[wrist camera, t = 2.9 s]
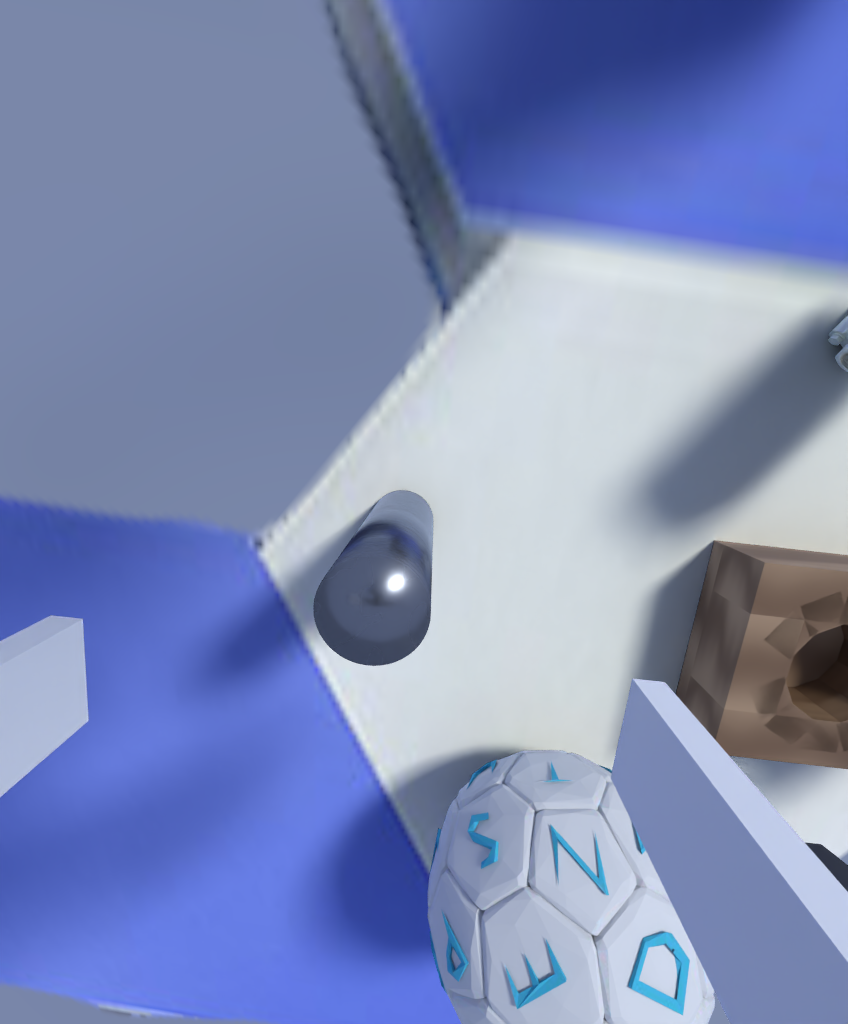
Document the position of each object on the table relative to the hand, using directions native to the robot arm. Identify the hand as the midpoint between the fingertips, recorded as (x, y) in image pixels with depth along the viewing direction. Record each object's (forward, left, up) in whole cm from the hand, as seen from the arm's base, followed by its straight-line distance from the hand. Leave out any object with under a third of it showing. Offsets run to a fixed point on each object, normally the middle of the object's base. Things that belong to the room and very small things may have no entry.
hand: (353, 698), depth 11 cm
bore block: (+5, +26, -19) cm, 32 cm away
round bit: (0, 0, -19) cm, 19 cm away
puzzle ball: (+19, +11, -19) cm, 29 cm away
